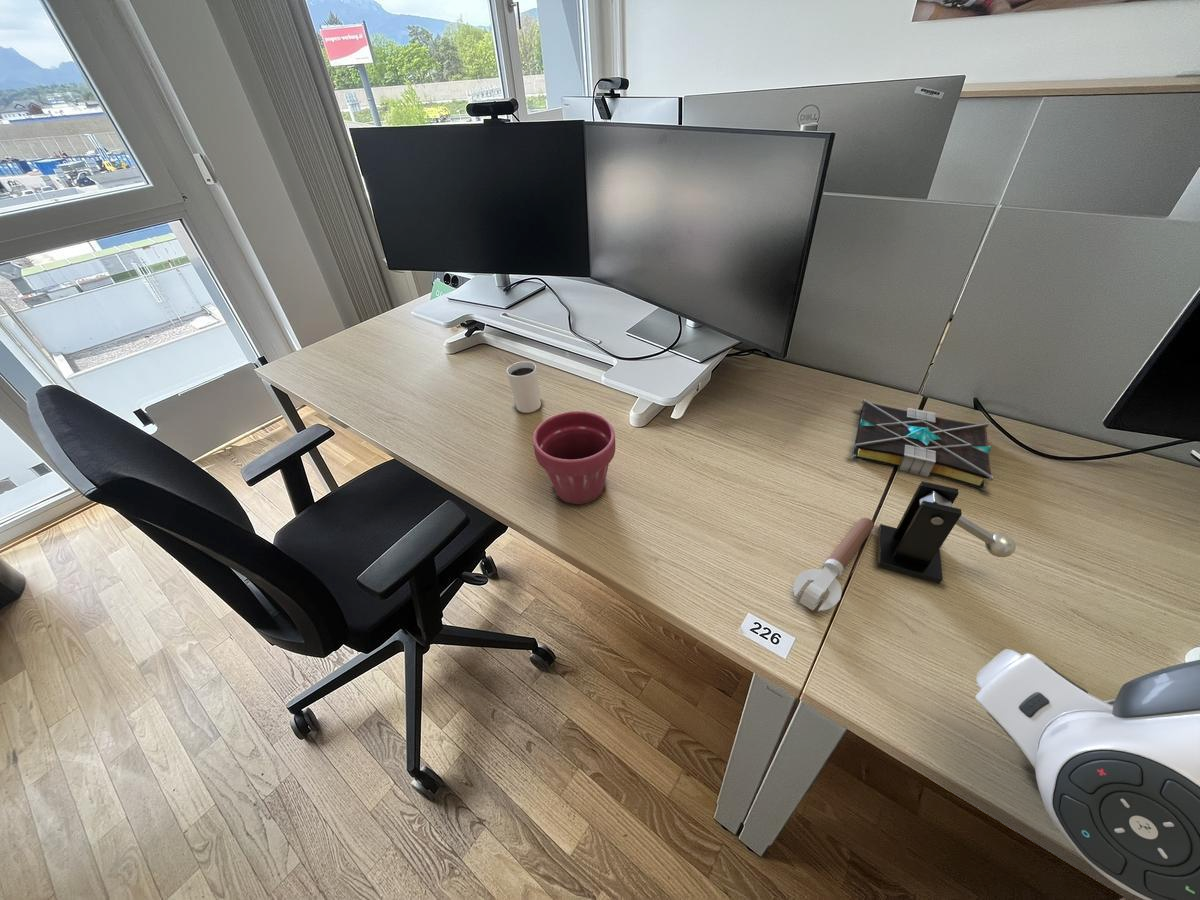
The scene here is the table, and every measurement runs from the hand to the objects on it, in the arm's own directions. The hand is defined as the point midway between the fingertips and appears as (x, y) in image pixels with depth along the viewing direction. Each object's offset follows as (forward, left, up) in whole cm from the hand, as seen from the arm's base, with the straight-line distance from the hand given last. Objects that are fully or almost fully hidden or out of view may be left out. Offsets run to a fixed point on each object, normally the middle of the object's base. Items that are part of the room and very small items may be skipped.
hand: (1106, 749), depth 45 cm
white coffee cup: (+92, -40, -7) cm, 101 cm away
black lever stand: (+14, -25, -7) cm, 29 cm away
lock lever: (+10, -25, +1) cm, 27 cm away
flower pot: (+68, -20, -7) cm, 71 cm away
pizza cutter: (+24, -19, -7) cm, 31 cm away
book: (+12, -53, -7) cm, 55 cm away
